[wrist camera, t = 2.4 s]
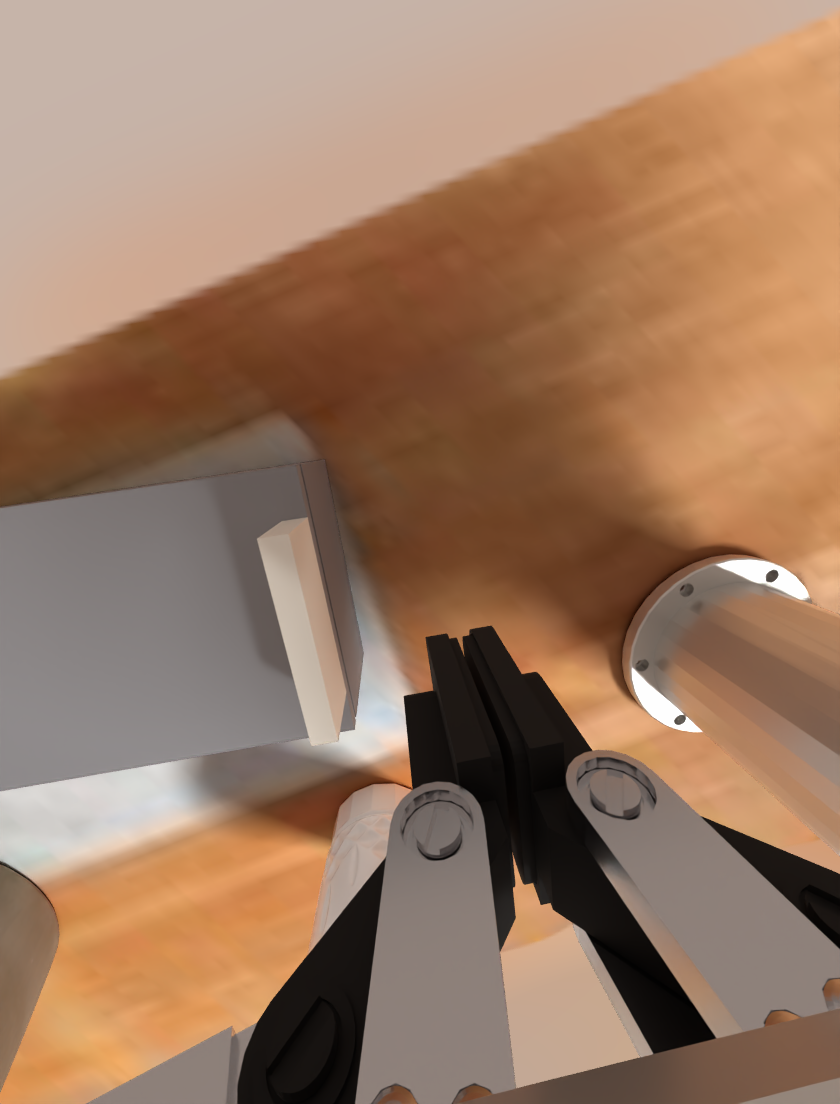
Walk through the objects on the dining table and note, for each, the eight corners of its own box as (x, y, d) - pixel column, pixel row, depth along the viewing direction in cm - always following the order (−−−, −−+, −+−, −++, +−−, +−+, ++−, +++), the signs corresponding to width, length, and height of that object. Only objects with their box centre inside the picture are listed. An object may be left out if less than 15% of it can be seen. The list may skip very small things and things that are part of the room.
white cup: (315, 787, 27) (275, 977, 17) (426, 764, 27) (448, 938, 18) (342, 870, 29) (319, 1078, 20) (445, 847, 29) (472, 1043, 20)
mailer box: (324, 459, 21) (300, 464, 15) (363, 652, 24) (356, 716, 19) (-55, 514, 20) (-229, 541, 15) (38, 706, 24) (-75, 790, 18)
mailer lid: (299, 464, 15) (273, 469, 12) (355, 720, 18) (348, 784, 15) (-241, 543, 14) (-440, 574, 11) (-83, 796, 18) (-197, 882, 14)
